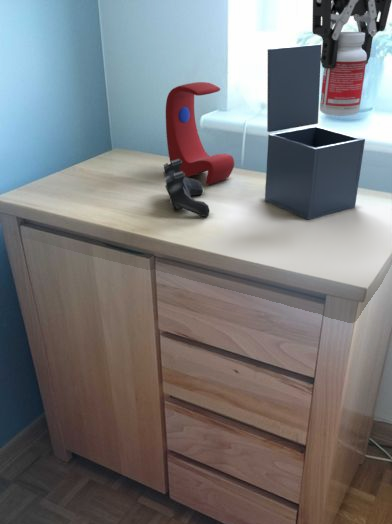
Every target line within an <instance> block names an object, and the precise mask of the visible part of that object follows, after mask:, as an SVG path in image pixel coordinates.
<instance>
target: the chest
mask: <svg viewBox="0 0 392 524" xmlns="http://www.w3.org/2000/svg"><path fill="white" fill-rule="evenodd" d="M267 137H268V139H267V152H266V153H267V154H266V171H265V189H264V190H265V191H264V192H265V193H264V201H266V202H268V203H270V204H272V205H275V206H277V207H279V208H281V209H284V210H286V211H288V212H290V213H292V214H293V215H296V216H298V217H301V218H303V219H305V220H312V219H317V218H320V217H323V216H327V215H330V214H335V213H338V212H341V211H345V210H349V209H354V208H355V207H356V204H357V197H358V190H359V182H360V177H361V169H362V162H363V156H364V150H365V143H366V139H365V138H362V137H358V136H355V135H351V134H347V133H344V132H340V131H337V130H333V129H330V128H325V127H322V126H319V125H315V126H307V127H303V128H297V129H296V128H295V129H291V130H285V131H279V132H274V133H269V134H268V135H267Z"/></svg>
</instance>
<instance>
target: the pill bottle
mask: <svg viewBox="0 0 392 524" xmlns="http://www.w3.org/2000/svg"><path fill="white" fill-rule="evenodd" d="M337 40H339V42H338V50H337V59H336V66H335V68H333V69H328V68H323V73H322V83H321V91H320V92H321V93H320V100H319V111H320V112H321V113H322V114H324V115H327V116H328V115H329V116H335V117H346V116H348V117H349V116H354V115H357V114H358V113H359V112H360V108H361V101H362V94H363V88H364V82H365V73H366V66H367V64H366V60H367V54H366V52H365V51H364V50H363V49H362V44H364V43H363V42H364V40H365V33H363V32H359V31H341V32H340V35H339V37H338V39H337Z"/></svg>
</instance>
